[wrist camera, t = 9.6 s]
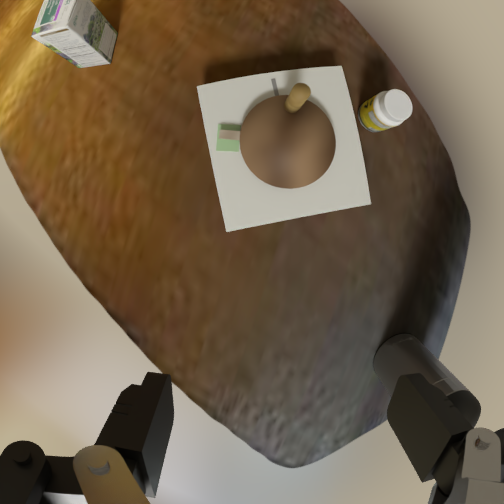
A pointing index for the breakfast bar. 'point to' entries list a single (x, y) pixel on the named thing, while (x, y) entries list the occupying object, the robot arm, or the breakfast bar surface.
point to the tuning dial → (286, 140)
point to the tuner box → (255, 190)
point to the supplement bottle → (385, 110)
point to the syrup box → (76, 32)
